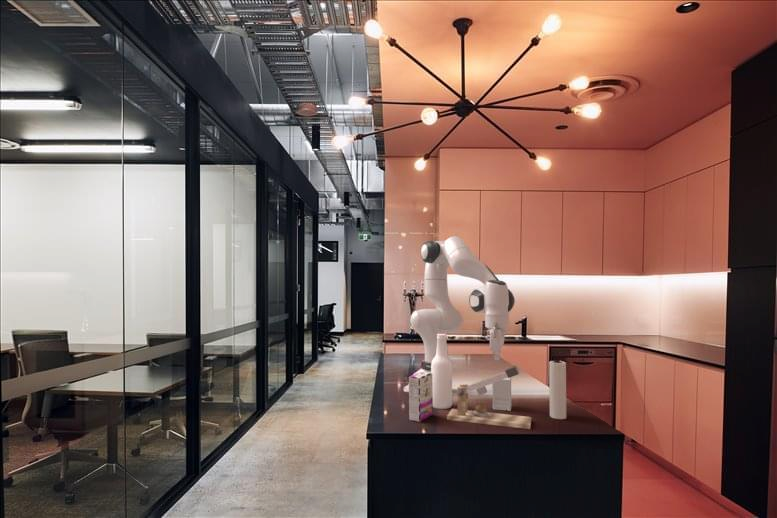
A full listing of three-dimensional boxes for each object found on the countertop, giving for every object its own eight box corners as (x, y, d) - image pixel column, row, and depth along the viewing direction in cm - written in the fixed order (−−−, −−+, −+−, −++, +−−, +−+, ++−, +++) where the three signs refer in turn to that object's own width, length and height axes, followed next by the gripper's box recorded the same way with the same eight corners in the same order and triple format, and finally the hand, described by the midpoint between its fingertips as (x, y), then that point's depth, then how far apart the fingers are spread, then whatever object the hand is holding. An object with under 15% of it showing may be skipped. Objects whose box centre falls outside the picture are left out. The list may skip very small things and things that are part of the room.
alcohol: (454, 409, 185) (455, 335, 186) (434, 409, 183) (434, 335, 185) (448, 403, 193) (448, 332, 195) (428, 403, 192) (429, 333, 193)
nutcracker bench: (447, 419, 170) (447, 387, 171) (452, 412, 180) (452, 382, 180) (530, 429, 160) (530, 395, 161) (531, 421, 170) (531, 388, 170)
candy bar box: (421, 412, 179) (422, 371, 180) (433, 415, 176) (433, 372, 177) (407, 420, 169) (408, 376, 170) (419, 422, 167) (419, 377, 167)
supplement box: (511, 406, 189) (511, 376, 190) (510, 411, 182) (510, 379, 183) (493, 404, 192) (493, 374, 192) (492, 409, 185) (492, 378, 185)
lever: (462, 402, 172) (456, 389, 173) (463, 399, 175) (458, 387, 176) (521, 380, 165) (515, 367, 166) (521, 378, 169) (515, 365, 169)
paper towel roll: (557, 420, 171) (557, 363, 172) (546, 416, 176) (545, 360, 177) (572, 418, 173) (571, 362, 174) (560, 414, 179) (559, 359, 180)
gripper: (503, 325, 160) (503, 364, 159) (507, 321, 179) (507, 356, 178) (485, 324, 162) (485, 363, 161) (491, 320, 181) (491, 355, 180)
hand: (497, 359), depth 170 cm, fingers closed
